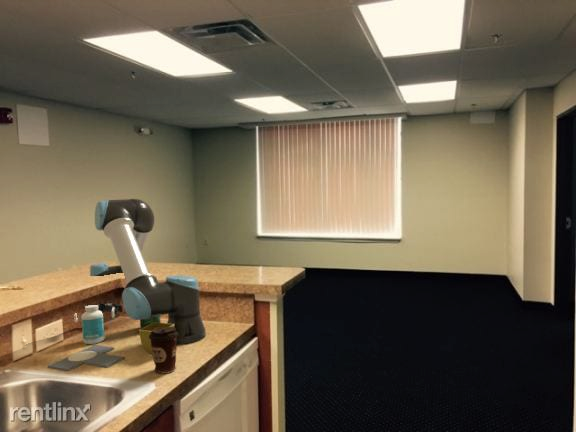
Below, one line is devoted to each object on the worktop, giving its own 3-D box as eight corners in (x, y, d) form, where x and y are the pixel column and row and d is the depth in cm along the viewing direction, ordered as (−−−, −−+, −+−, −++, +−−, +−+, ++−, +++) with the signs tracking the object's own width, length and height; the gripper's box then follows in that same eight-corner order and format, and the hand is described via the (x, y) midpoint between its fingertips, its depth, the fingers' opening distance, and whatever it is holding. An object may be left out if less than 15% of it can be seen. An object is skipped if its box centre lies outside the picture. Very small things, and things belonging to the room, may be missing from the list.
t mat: (137, 351, 161) (136, 350, 161) (92, 374, 143) (92, 372, 143) (95, 346, 168) (94, 344, 168) (47, 367, 150) (47, 365, 150)
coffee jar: (160, 331, 183) (158, 284, 182) (139, 333, 182) (136, 286, 180) (161, 324, 193) (159, 279, 191) (141, 326, 191) (139, 281, 190)
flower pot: (161, 358, 154) (159, 331, 154) (139, 355, 158) (138, 329, 157) (176, 349, 163) (175, 323, 162) (155, 346, 166) (154, 322, 165)
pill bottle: (108, 341, 174) (105, 305, 173) (88, 346, 169) (85, 309, 168) (99, 336, 179) (97, 302, 178) (79, 342, 174) (77, 306, 173)
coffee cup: (162, 378, 139) (159, 335, 138) (145, 372, 144) (142, 330, 143) (185, 368, 145) (182, 327, 144) (168, 362, 150) (165, 323, 149)
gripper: (129, 308, 205) (128, 322, 185) (67, 315, 197) (59, 330, 177) (128, 291, 204) (127, 303, 184) (66, 298, 197) (58, 310, 177)
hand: (94, 316), depth 181 cm, fingers open, 13 cm apart
